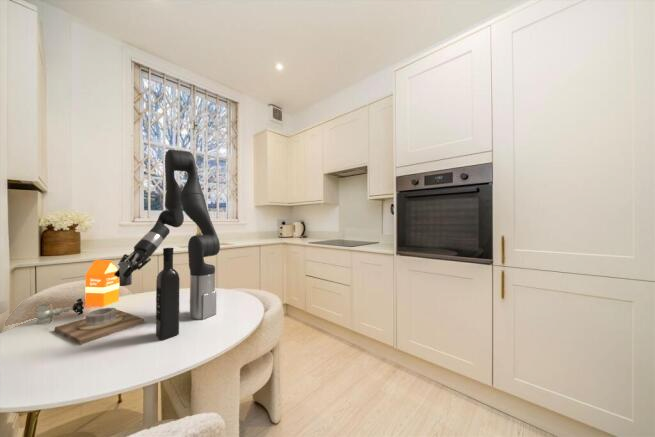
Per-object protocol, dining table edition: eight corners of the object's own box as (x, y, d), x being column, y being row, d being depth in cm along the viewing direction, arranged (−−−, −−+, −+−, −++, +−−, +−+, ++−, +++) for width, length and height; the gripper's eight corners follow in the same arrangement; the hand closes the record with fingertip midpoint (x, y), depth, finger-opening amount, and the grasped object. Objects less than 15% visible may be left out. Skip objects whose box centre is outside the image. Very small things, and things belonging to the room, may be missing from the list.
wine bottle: (161, 341, 78) (162, 249, 78) (154, 336, 82) (155, 248, 82) (180, 334, 83) (180, 248, 83) (173, 329, 86) (174, 246, 86)
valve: (38, 327, 88) (83, 315, 98) (38, 309, 88) (84, 299, 98) (34, 322, 91) (79, 312, 101) (34, 305, 91) (79, 296, 101)
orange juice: (103, 306, 108) (103, 262, 108) (84, 305, 108) (85, 261, 108) (119, 300, 115) (119, 259, 115) (102, 300, 116) (102, 258, 116)
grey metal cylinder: (134, 283, 102) (134, 261, 102) (124, 286, 98) (124, 263, 98) (127, 283, 103) (127, 261, 103) (116, 285, 99) (116, 262, 99)
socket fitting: (144, 322, 92) (144, 308, 92) (80, 344, 76) (80, 327, 76) (117, 313, 100) (117, 300, 100) (54, 331, 84) (54, 315, 84)
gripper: (131, 238, 110) (100, 270, 98) (155, 239, 106) (126, 272, 94) (143, 248, 115) (114, 279, 103) (166, 249, 111) (140, 282, 99)
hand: (120, 276), depth 99 cm, fingers closed on grey metal cylinder, 4 cm apart
